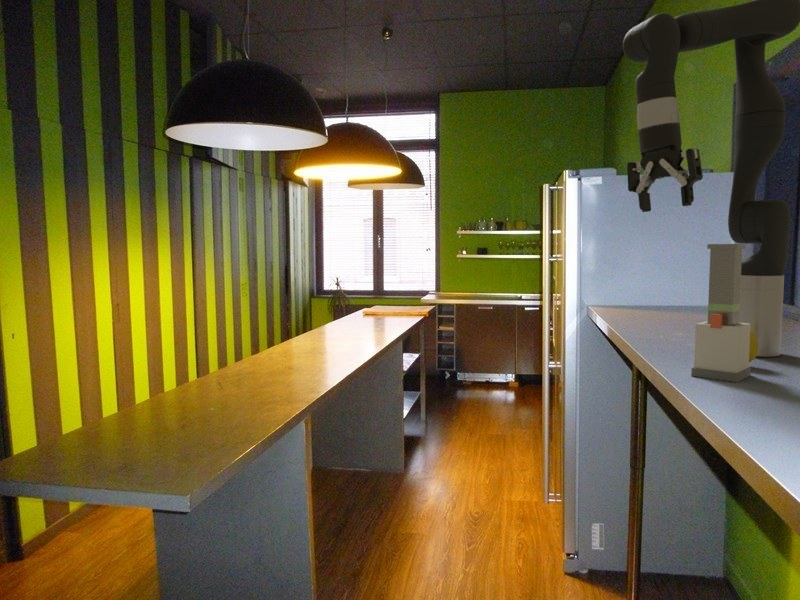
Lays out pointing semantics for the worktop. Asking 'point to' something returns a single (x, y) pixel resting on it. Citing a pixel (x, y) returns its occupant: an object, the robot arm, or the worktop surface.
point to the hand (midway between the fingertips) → (666, 208)
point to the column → (725, 282)
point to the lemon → (753, 346)
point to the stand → (722, 350)
